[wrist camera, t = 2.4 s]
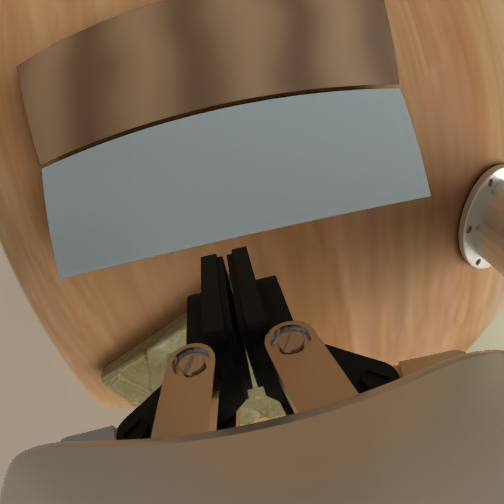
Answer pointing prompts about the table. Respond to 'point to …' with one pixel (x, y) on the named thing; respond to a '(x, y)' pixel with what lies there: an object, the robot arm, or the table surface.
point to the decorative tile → (154, 365)
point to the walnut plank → (198, 63)
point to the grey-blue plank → (231, 176)
